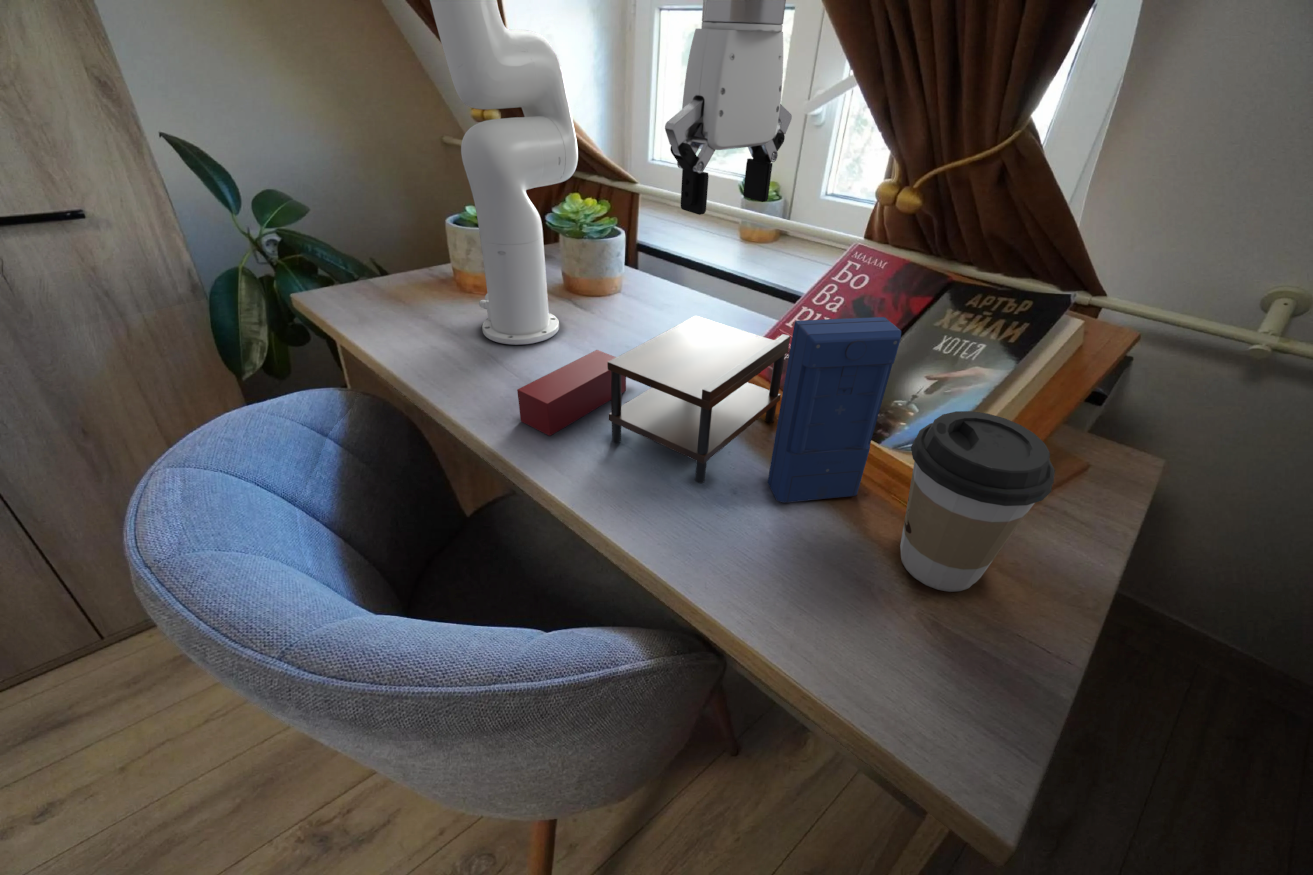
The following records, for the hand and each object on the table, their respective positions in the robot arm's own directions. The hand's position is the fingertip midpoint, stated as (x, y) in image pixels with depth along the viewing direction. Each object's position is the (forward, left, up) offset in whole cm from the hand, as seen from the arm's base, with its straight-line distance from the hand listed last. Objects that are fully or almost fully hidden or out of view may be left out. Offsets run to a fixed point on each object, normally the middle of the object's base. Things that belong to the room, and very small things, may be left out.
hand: (725, 205), depth 65 cm
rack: (+1, -3, -27) cm, 28 cm away
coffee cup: (+33, -8, -28) cm, 43 cm away
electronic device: (+18, -5, -28) cm, 33 cm away
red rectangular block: (-15, -9, -27) cm, 33 cm away
